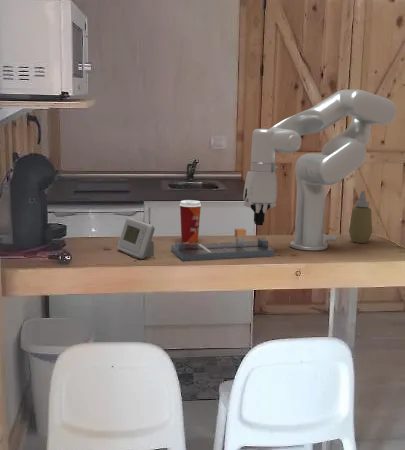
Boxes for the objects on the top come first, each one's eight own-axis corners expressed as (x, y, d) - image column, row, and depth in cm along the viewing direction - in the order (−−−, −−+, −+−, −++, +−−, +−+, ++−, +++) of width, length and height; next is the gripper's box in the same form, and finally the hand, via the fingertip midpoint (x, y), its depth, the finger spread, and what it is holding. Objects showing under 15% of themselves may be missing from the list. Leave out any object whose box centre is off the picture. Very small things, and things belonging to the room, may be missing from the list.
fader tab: (242, 244, 215) (243, 228, 214) (245, 246, 212) (246, 229, 211) (234, 244, 214) (234, 228, 213) (236, 246, 212) (237, 230, 211)
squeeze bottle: (373, 244, 230) (377, 193, 227) (350, 243, 230) (353, 192, 227) (368, 239, 238) (371, 190, 235) (346, 239, 238) (349, 189, 235)
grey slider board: (257, 246, 223) (257, 235, 222) (273, 256, 210) (274, 243, 209) (171, 250, 214) (171, 238, 213) (182, 261, 201) (183, 248, 200)
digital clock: (116, 249, 214) (115, 217, 212) (142, 248, 218) (142, 216, 216) (130, 261, 200) (130, 226, 198) (158, 259, 203) (159, 225, 201)
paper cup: (198, 244, 225) (199, 203, 222) (176, 242, 226) (176, 202, 223) (202, 239, 232) (203, 200, 229) (181, 238, 234) (182, 199, 231)
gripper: (279, 167, 216) (275, 222, 219) (236, 166, 212) (233, 222, 215) (288, 169, 209) (284, 226, 212) (244, 168, 205) (241, 227, 208)
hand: (258, 224), depth 214 cm, fingers closed
